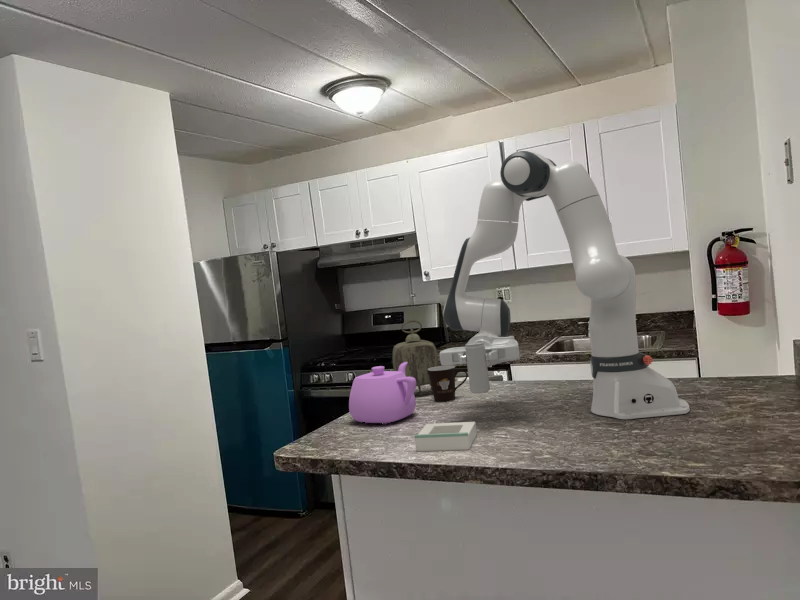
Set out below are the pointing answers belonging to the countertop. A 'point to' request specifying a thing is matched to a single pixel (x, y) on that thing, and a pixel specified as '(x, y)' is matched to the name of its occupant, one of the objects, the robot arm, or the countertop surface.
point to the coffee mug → (444, 382)
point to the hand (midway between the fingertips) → (475, 358)
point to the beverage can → (477, 367)
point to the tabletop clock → (415, 357)
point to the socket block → (446, 436)
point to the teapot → (382, 396)
